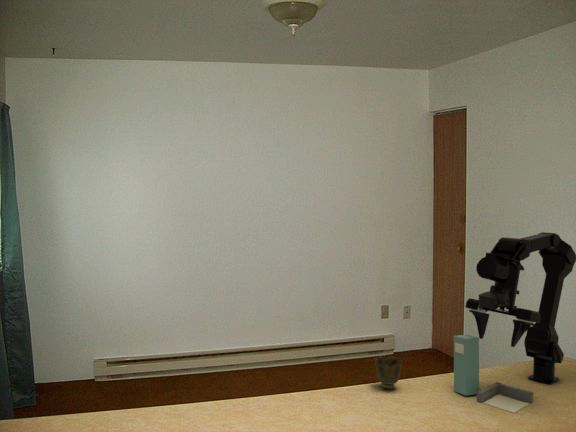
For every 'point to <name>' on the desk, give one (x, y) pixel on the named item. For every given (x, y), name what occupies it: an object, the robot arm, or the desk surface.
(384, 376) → the cup
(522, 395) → the corner arena
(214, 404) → the desk surface
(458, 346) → the teal block
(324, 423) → the desk surface
